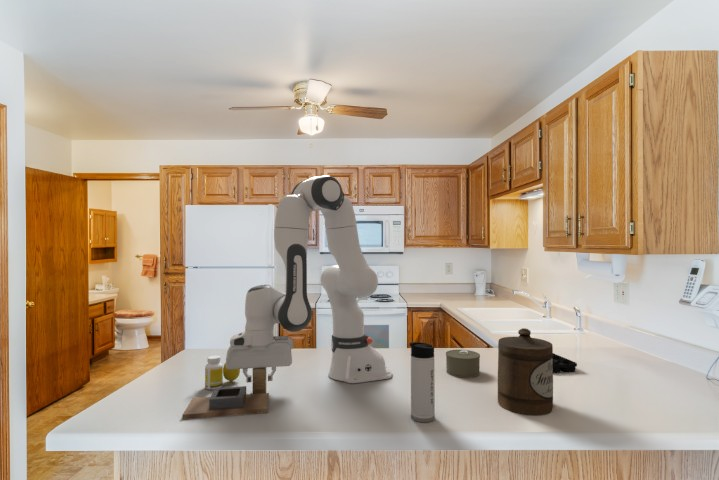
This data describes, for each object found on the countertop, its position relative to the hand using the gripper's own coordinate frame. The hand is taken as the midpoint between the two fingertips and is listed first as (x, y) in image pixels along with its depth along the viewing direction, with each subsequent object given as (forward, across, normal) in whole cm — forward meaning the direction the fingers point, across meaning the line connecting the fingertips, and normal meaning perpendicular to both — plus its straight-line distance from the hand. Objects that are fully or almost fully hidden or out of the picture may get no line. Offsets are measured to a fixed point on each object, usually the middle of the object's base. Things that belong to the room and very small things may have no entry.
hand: (259, 381), depth 128 cm
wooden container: (+4, -76, +24) cm, 80 cm away
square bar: (+4, 0, 0) cm, 4 cm away
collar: (+2, +8, +10) cm, 13 cm away
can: (+4, -71, -7) cm, 71 cm away
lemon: (+4, +10, -12) cm, 16 cm away
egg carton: (+4, -106, -14) cm, 107 cm away
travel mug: (+4, -44, +27) cm, 52 cm away
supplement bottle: (+4, +15, -8) cm, 17 cm away
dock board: (+4, +8, +10) cm, 13 cm away
